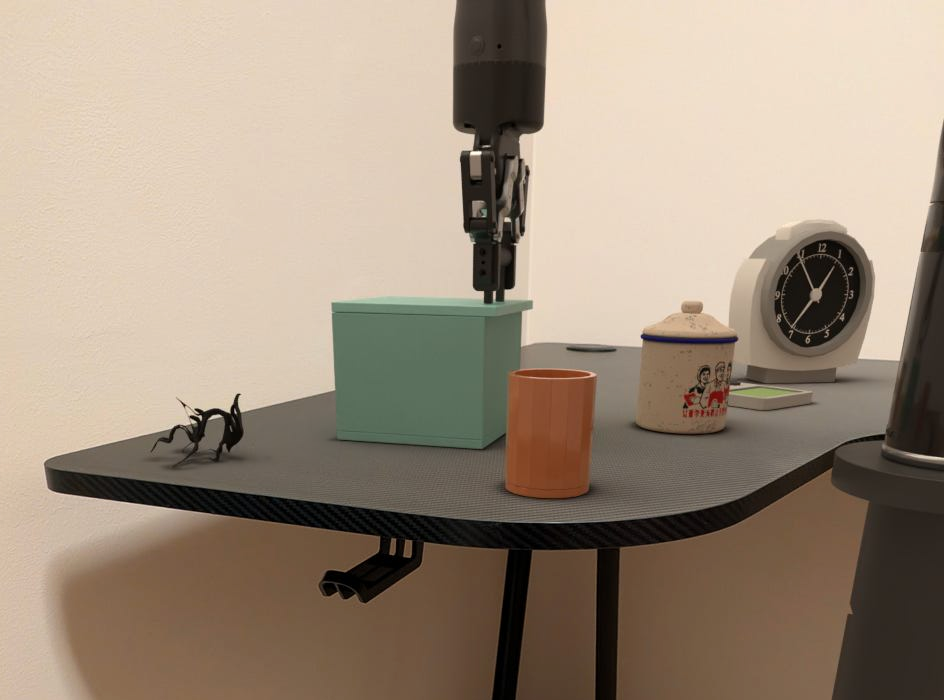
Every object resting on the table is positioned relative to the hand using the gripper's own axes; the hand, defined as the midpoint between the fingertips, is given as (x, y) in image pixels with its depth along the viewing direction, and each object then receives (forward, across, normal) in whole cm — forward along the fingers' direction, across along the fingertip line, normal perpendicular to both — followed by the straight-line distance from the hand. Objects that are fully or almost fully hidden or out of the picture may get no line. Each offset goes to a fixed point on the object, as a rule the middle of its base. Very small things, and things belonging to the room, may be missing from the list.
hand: (494, 289), depth 80 cm
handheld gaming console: (+13, +33, -21) cm, 41 cm away
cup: (+13, -19, -9) cm, 25 cm away
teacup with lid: (+13, +12, -17) cm, 25 cm away
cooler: (+13, 0, +6) cm, 14 cm away
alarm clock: (+13, +55, -28) cm, 63 cm away
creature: (+13, -18, +20) cm, 30 cm away
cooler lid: (+2, 0, +5) cm, 6 cm away
